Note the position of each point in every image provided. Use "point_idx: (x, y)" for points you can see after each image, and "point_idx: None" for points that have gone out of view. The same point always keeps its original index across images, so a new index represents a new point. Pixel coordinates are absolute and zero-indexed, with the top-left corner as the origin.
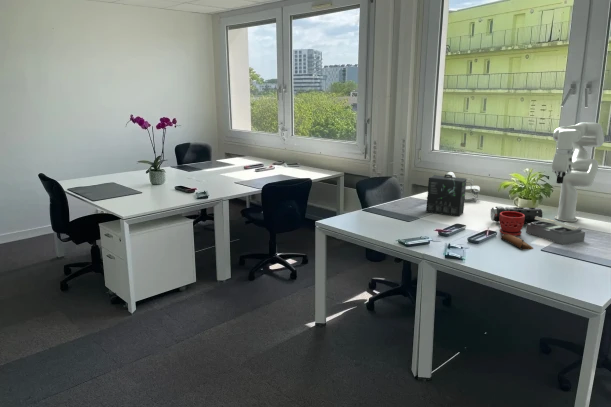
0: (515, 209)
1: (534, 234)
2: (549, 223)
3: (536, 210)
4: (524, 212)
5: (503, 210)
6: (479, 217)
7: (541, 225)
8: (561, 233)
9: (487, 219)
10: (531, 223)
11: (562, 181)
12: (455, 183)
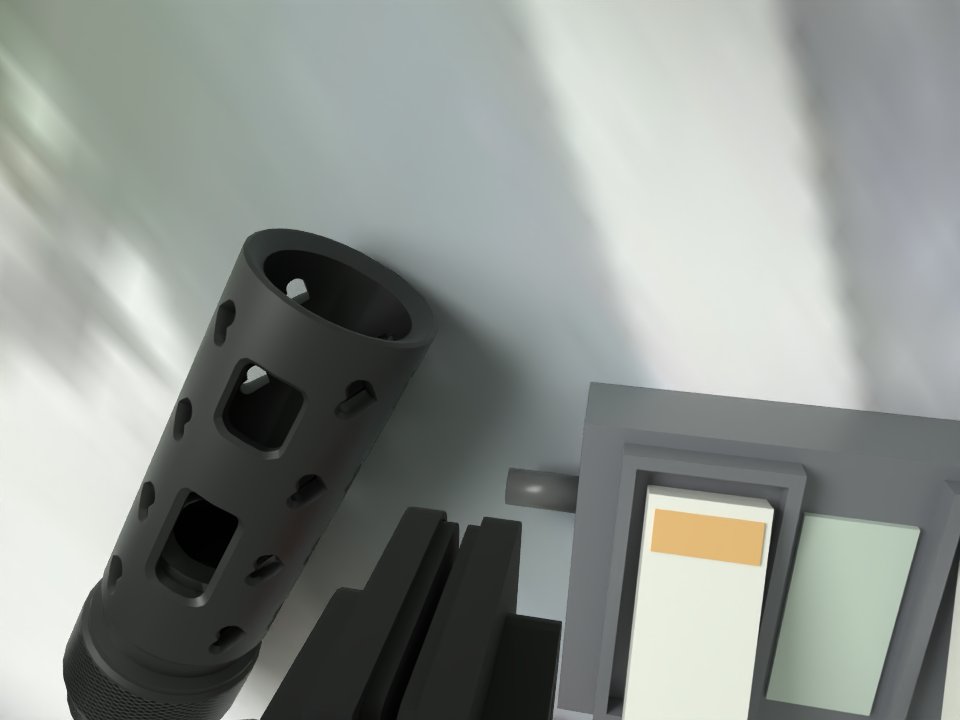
0: (222, 604)
1: None
2: None
3: (340, 402)
4: (303, 528)
5: (195, 708)
6: (18, 579)
7: None
8: None
9: (94, 575)
10: (605, 718)
11: (556, 648)
12: None
